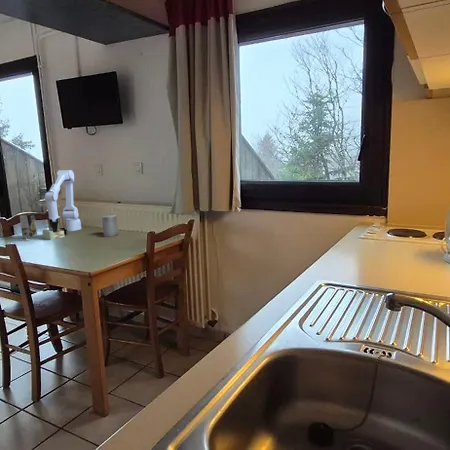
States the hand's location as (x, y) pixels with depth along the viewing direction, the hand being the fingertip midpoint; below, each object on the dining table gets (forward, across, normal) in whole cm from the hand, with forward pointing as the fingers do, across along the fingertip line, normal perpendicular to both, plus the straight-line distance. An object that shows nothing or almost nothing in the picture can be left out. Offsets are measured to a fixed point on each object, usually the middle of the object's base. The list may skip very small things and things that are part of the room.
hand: (55, 230), depth 272 cm
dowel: (+3, 0, 0) cm, 4 cm away
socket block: (+4, 0, 0) cm, 4 cm away
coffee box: (+6, +16, +16) cm, 24 cm away
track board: (+6, +1, -3) cm, 7 cm away
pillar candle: (+6, -10, -34) cm, 36 cm away
